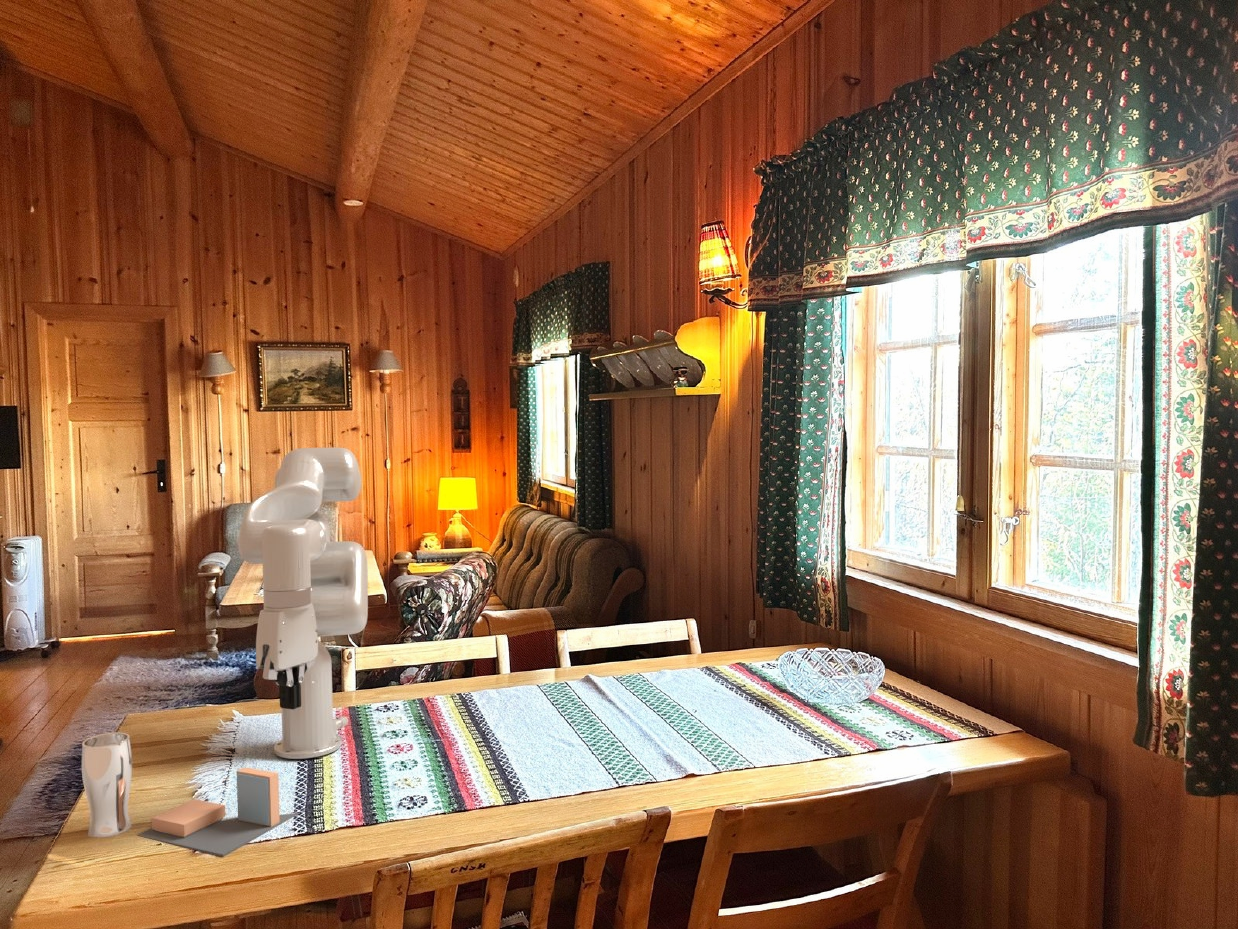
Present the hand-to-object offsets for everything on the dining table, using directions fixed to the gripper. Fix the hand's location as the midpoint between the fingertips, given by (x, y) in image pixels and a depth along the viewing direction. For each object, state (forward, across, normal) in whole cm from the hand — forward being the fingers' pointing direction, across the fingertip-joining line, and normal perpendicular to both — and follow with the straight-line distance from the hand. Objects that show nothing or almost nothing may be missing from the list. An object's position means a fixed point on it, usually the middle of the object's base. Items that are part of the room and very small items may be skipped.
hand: (290, 707), depth 155 cm
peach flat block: (+16, +8, 0) cm, 18 cm away
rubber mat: (+17, +10, -5) cm, 20 cm away
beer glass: (+17, +19, -20) cm, 32 cm away
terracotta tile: (+15, +9, -9) cm, 20 cm away
